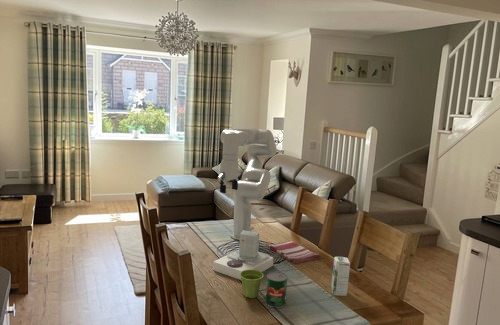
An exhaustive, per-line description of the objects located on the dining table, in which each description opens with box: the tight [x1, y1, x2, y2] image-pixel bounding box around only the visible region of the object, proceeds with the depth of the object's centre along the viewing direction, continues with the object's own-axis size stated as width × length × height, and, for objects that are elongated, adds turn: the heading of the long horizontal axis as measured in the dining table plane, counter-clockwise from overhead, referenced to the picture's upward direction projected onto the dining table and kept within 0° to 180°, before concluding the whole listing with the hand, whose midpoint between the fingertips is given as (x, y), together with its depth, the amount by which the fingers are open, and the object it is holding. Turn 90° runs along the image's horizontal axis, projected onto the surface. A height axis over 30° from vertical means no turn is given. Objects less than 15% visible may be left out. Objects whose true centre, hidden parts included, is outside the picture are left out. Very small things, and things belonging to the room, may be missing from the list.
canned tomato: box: [264, 271, 288, 308], centre depth 159 cm, size 8×8×11 cm
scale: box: [212, 254, 274, 281], centre depth 190 cm, size 22×18×5 cm
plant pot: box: [240, 270, 264, 299], centre depth 165 cm, size 9×9×9 cm
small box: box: [238, 230, 260, 258], centre depth 192 cm, size 8×6×10 cm
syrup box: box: [330, 256, 351, 297], centre depth 170 cm, size 6×6×14 cm
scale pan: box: [226, 248, 271, 266], centre depth 193 cm, size 13×15×1 cm
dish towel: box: [266, 240, 321, 265], centre depth 211 cm, size 17×23×3 cm
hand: (228, 191), depth 207 cm, fingers open, 9 cm apart
